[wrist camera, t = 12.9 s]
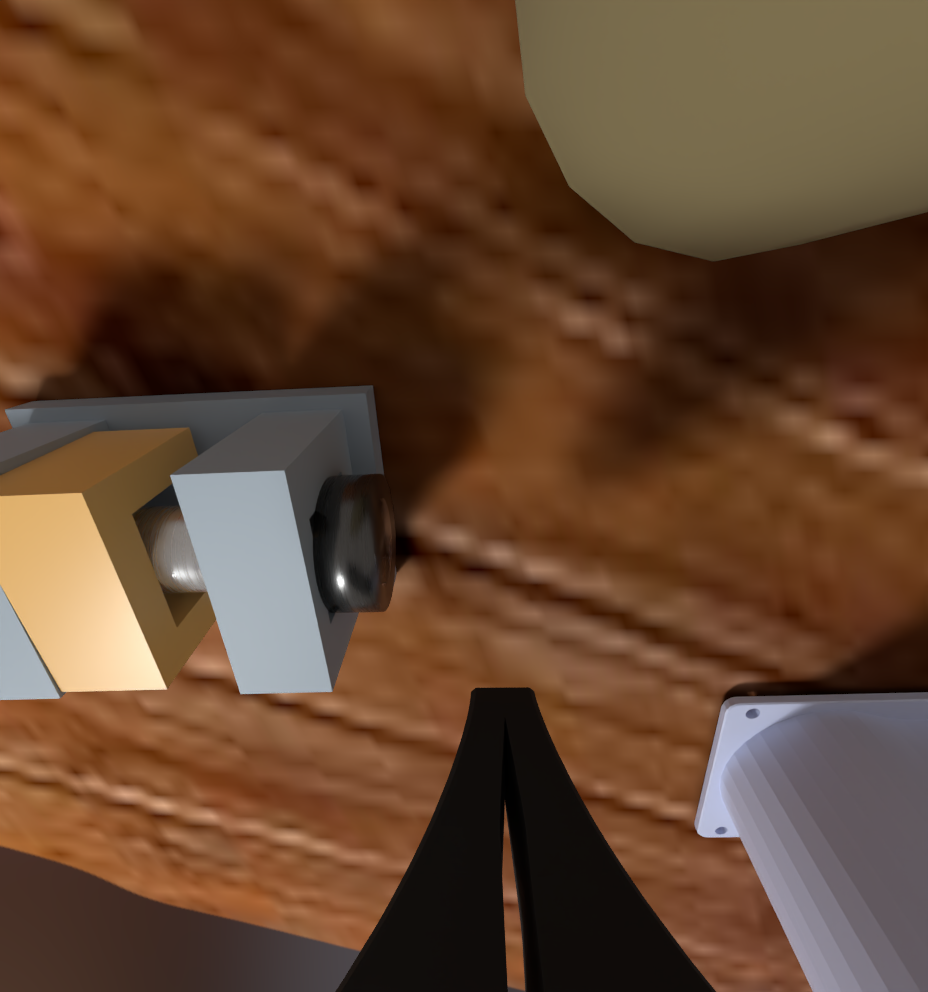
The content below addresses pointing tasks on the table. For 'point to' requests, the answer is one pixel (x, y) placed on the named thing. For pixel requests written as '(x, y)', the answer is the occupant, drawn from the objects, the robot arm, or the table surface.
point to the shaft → (336, 545)
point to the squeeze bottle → (733, 115)
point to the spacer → (97, 562)
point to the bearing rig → (227, 518)
